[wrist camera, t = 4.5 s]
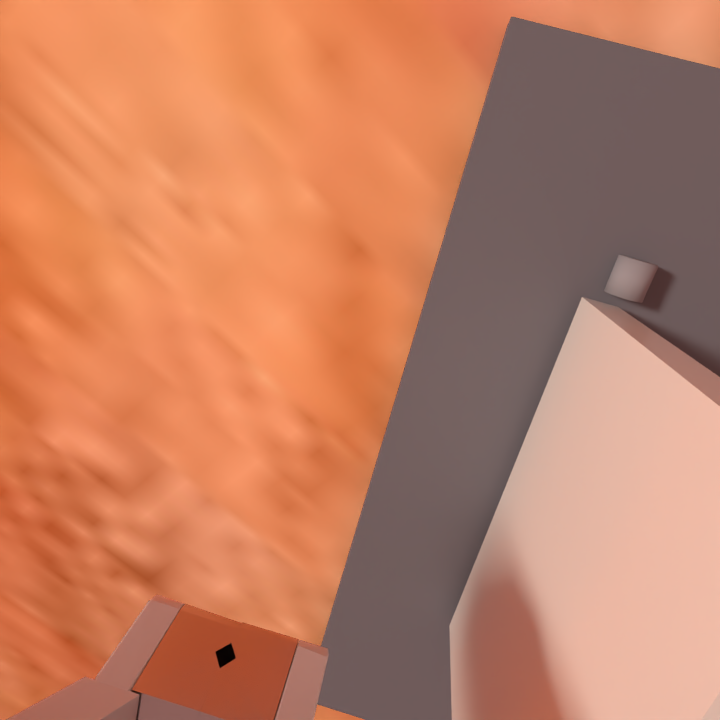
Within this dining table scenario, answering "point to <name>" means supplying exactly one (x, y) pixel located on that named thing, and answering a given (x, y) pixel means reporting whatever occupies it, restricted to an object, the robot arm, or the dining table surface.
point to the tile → (602, 543)
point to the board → (523, 326)
